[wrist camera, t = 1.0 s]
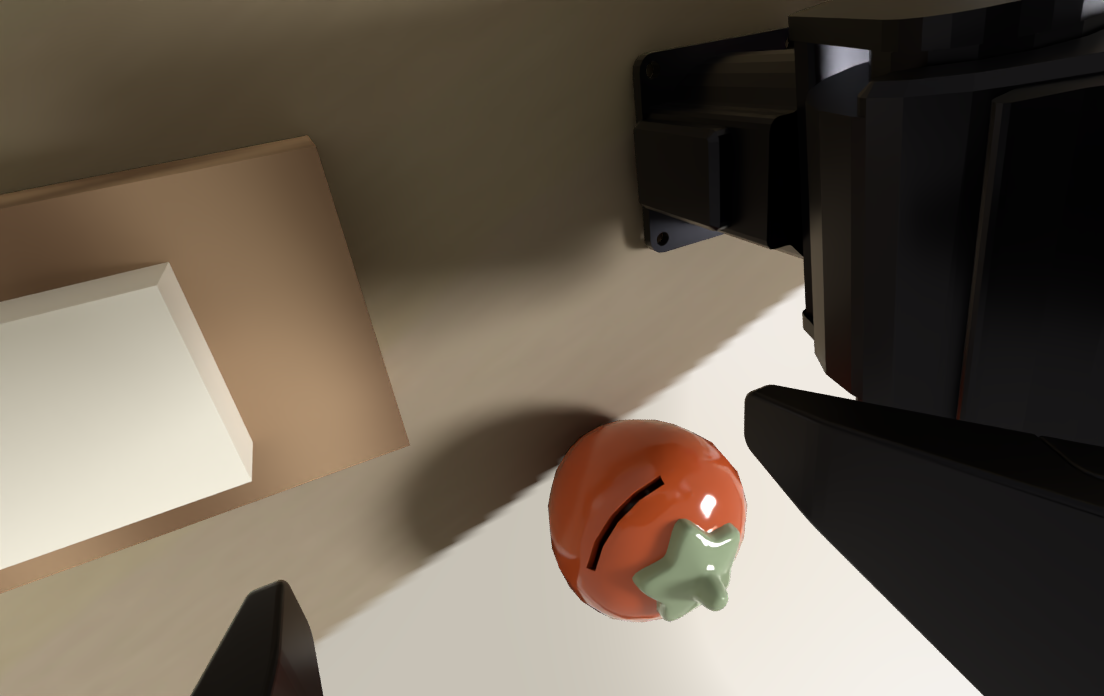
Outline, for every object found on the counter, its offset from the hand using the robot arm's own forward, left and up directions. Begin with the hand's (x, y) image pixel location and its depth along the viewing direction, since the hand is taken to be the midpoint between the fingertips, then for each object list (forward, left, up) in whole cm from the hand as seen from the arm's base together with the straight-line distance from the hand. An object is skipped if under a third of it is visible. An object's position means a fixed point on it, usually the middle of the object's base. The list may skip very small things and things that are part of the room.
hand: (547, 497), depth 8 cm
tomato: (-6, +11, -12) cm, 17 cm away
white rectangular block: (+8, 0, -9) cm, 12 cm away
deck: (+7, 0, -12) cm, 14 cm away
